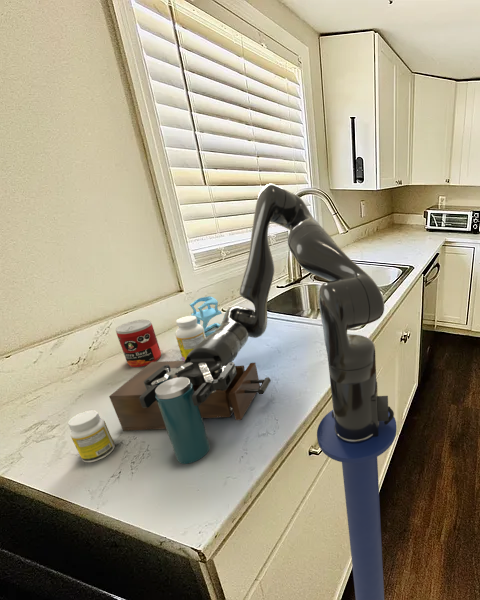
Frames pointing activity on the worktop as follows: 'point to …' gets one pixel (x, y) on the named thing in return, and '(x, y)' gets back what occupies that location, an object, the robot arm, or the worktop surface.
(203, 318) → the chair
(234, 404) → the drawer
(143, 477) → the worktop surface
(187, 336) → the supplement bottle
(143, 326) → the canned food
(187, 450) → the can
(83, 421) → the supplement bottle
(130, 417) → the cabinet
